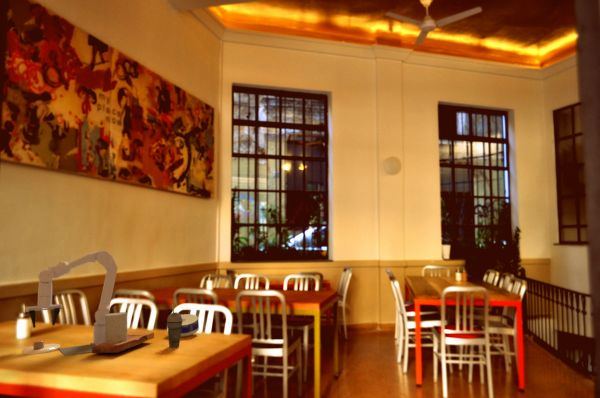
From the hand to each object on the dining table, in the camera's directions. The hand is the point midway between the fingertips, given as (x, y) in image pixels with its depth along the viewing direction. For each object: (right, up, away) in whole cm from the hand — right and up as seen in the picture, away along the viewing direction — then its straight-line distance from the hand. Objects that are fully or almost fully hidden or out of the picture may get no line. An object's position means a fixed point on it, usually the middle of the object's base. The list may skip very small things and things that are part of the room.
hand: (43, 326), depth 206 cm
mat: (+19, -10, -4) cm, 22 cm away
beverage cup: (+58, -11, +4) cm, 59 cm away
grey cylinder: (+34, -6, -3) cm, 35 cm away
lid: (0, -10, -4) cm, 10 cm away
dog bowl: (+55, -5, +31) cm, 64 cm away
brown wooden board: (+37, -9, 0) cm, 38 cm away
